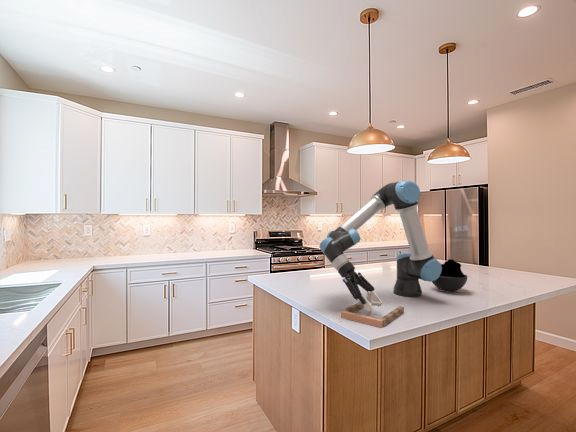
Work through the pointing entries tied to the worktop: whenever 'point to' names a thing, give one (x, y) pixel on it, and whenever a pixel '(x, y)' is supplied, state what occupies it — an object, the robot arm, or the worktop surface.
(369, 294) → the pipe connector
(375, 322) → the band bar
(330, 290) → the worktop surface
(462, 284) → the bowl of black rocks
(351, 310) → the brown wooden frame
